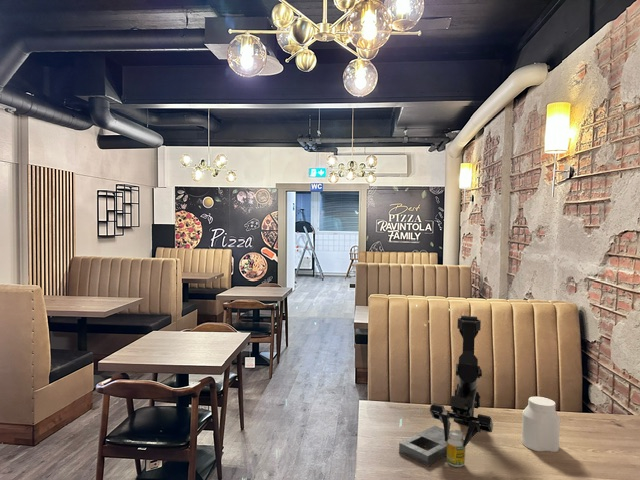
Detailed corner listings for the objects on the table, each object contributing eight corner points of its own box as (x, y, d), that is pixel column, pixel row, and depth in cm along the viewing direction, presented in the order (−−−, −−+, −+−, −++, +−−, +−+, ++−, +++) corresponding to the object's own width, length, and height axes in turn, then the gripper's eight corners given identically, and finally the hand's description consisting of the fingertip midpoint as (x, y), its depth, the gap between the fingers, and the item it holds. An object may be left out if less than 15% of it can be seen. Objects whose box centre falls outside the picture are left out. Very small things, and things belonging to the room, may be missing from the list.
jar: (529, 451, 151) (531, 406, 150) (516, 437, 160) (518, 395, 160) (564, 452, 151) (566, 407, 150) (550, 438, 160) (552, 396, 160)
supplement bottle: (454, 456, 146) (455, 427, 146) (468, 464, 142) (469, 433, 141) (442, 461, 143) (443, 431, 143) (456, 469, 139) (457, 438, 138)
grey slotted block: (434, 433, 162) (434, 425, 162) (462, 445, 154) (463, 436, 154) (399, 451, 148) (399, 442, 148) (427, 465, 140) (428, 456, 140)
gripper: (432, 378, 150) (419, 424, 141) (492, 391, 140) (483, 440, 131) (439, 395, 157) (427, 439, 148) (496, 408, 147) (487, 456, 138)
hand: (454, 443), depth 141 cm, fingers closed on supplement bottle, 5 cm apart
